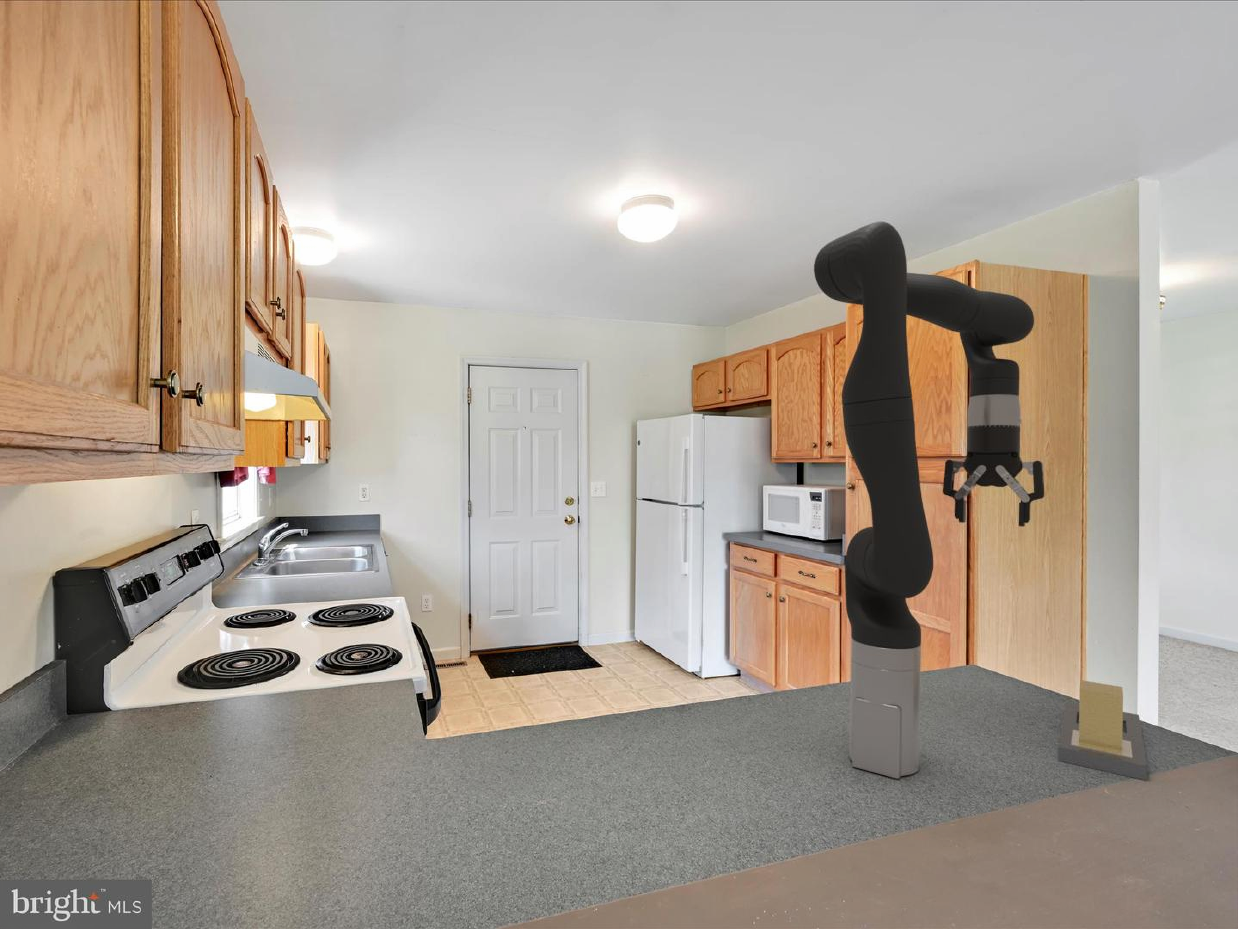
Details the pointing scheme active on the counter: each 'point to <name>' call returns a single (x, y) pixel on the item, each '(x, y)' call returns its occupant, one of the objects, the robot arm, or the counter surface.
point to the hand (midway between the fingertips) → (991, 524)
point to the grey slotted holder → (1101, 759)
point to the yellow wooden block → (1101, 716)
